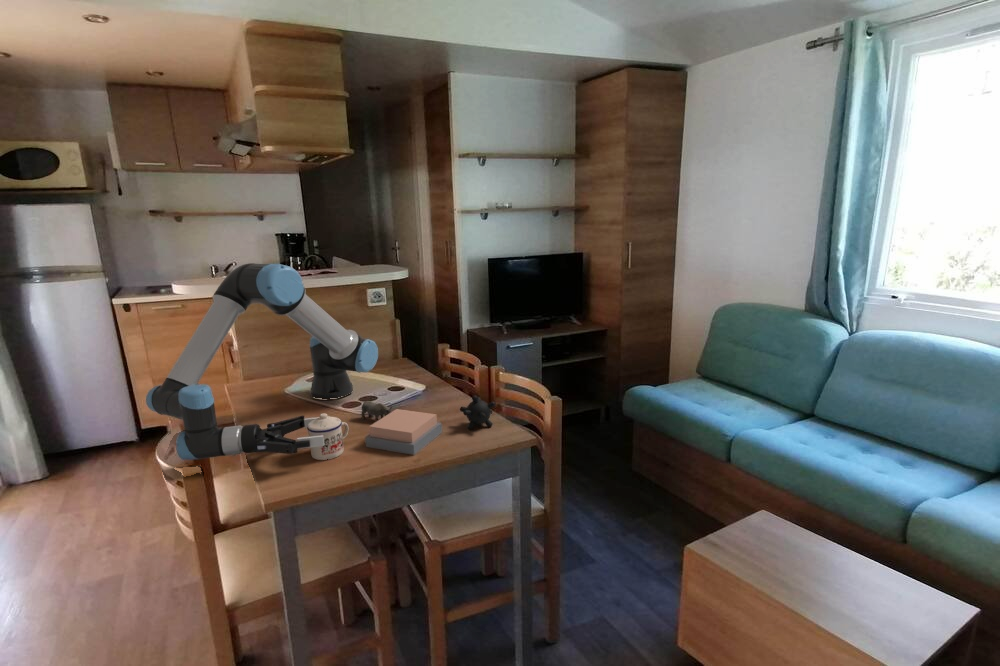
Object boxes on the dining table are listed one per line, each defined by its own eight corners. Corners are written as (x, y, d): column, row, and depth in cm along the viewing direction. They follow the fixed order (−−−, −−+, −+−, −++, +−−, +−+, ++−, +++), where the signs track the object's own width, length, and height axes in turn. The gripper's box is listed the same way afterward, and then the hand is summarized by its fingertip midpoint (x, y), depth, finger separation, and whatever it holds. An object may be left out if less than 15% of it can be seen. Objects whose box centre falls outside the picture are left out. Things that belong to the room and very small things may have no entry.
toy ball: (509, 417, 161) (481, 419, 152) (488, 434, 166) (460, 437, 158) (495, 388, 166) (467, 388, 157) (475, 406, 171) (447, 407, 162)
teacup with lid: (323, 464, 141) (319, 423, 138) (303, 455, 146) (299, 416, 143) (359, 447, 150) (356, 409, 148) (339, 440, 155) (335, 402, 153)
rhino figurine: (392, 426, 165) (391, 408, 163) (358, 419, 171) (357, 401, 169) (400, 421, 168) (399, 403, 167) (367, 415, 174) (365, 397, 173)
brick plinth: (397, 425, 165) (395, 407, 163) (442, 432, 159) (441, 413, 157) (365, 446, 150) (364, 427, 149) (414, 455, 144) (412, 434, 143)
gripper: (255, 433, 154) (331, 425, 158) (233, 474, 130) (322, 463, 134) (252, 409, 152) (328, 402, 156) (228, 446, 128) (319, 436, 133)
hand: (326, 430), depth 145 cm, fingers open, 13 cm apart
